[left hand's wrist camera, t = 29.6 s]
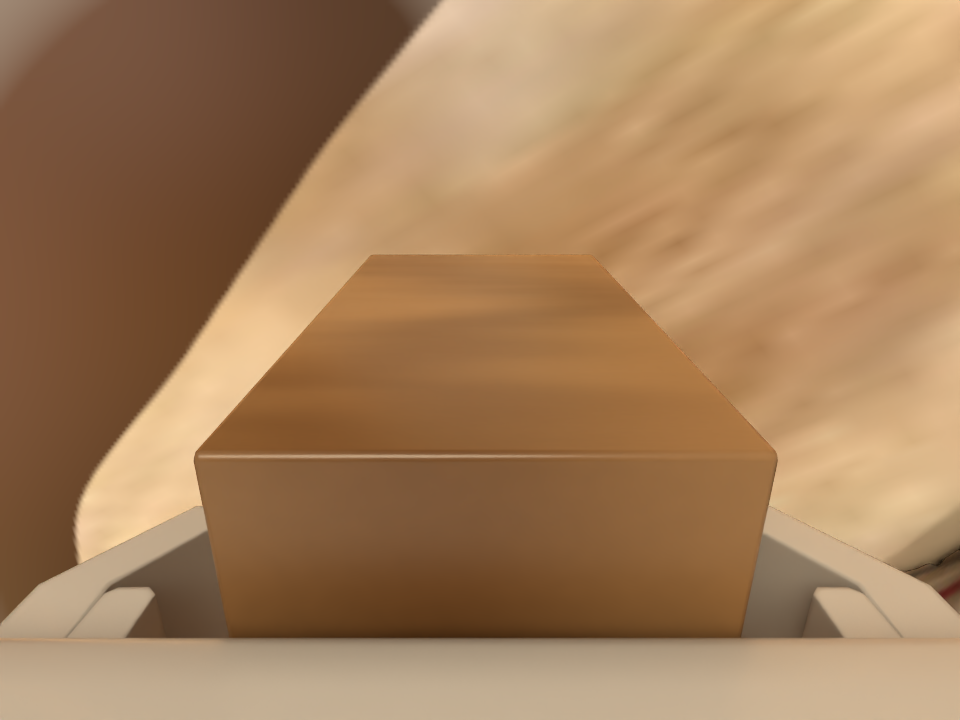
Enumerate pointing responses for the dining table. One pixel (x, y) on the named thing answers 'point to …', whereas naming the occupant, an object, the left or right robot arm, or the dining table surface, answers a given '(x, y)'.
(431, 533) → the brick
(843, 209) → the dining table surface
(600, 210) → the dining table surface
